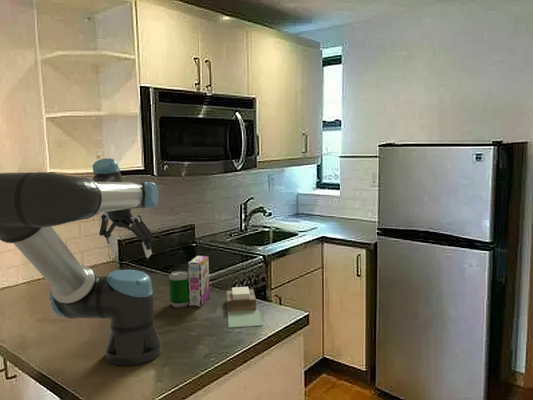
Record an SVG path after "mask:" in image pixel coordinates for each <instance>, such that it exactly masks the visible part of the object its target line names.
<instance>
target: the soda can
mask: <svg viewBox="0 0 533 400" xmlns="http://www.w3.org/2000/svg"><path fill="white" fill-rule="evenodd" d="M168 279H169V280H168V284H169V300H170V301H169V302H170V304H171V305H172V307H174V308H184V307H188V306H189V278H188V271H185V270H177V271H176V270H175V271H172V272H171V274H170V275H168Z"/></svg>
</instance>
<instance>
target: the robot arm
mask: <svg viewBox="0 0 533 400" xmlns="http://www.w3.org/2000/svg"><path fill="white" fill-rule="evenodd" d="M92 171H93V172H92V173H93V174H94V176H93V177H92V179H91V178H88V177H86V176H85V177H84V176H75V175H67V174H62V173H55V172H48V171H47V172H46V171H35V172H34V171H33V172H30V171H29V172H0V241H1V242H3V243H5V244H14V246H15V247H16V248H17V249H18V250H19V251H20V252H21V254H22V255H23V256H24V257H25V258H26V259H27V261H29V262H30V263H31V264H32V266H33V267H34V268H35V269H36V271H38V272H39V274H40V275H41V276H42V277H43V278H44V279H45V280H46V281H47V282H48V283H49V285H50V286H51V288H50V292H49V301H50V302H51V304H50V305H51V309H52V311H54V313H55V314H57V315H58V316H59V317H60V318H61V317H62V318H68V319H73V320H74V319H104V320H105V319H106V320H107V319H108V320H110V333H109V336H108V339H107V345H106V348H105V356H106V357H105V359H106V361H107V362H108V363H109V364H111V365H115V366H121V367H127V366H128V367H129V366H136V365H137V366H138V365H142V364H144V363H147V362H150V361H152V360H154V359H157V357H158V356H160V355H161V353H162V341H161V338H160V336H159V333H158V331H157V328H156V326H155V321H154V319H155V315H154V295H153V294H154V290H153V284H152V279H151V277H150V275H149V274H147V273H146V272H144V271H142V270H136V269H117V270H113V271H111V272H109V273H108V275H105V276H104V275H101V276H100V275H96V273H95V272H94V271H93V269H92V268H90V267H89V266H88V265H84V264H81V263H80V262H79V261H78V260H77V258H76V257H75V255H74V254H73V252H71V250H70V249H69V248H68V246H67V245H66V243H65V242H64V241H63V240H62V238H61V237H60V235H59V234H58V233H57V232H56V231H55V229H54V228H53V227H55V226H60V225H64V224H65V225H66V224H68V223H69V224H70V223H73V222H77V221H83V220H88V219H91V218H93V217H94V216H97V215H99V214H101V213H102V215H100V217H101V222H100V223H101V224H100V229H99V236H104V238H105V239H106V242H107V244H108V245H109V247H110V250H111V253H112V254H114V253H116V251H117V250H118V249H119V246H118V243H117V239H116V237H115V234H114V233H113V231H114V230H115V228H116V227H118V228H123V229H127V230H128V231H131V232H132V233H133V234H134V235H135V236H136V237H138V239H139V240H141V241H142V243H141V244H142V248H143V251H144V255H145V258H146V259H149V258H150V257H151V255H152V254H153V251H152V242H153V241H154V239H155V238H156V237H155V235H154V234H153V232H152V231H151V230H150V228H148V226H147V225H146V224H145V222H144V221H143V219H142V217H141V215H139V214H138V215H137V216H133V215H132V214H131V213H132V212H131V211H132V209H133V210H134V209H147V208H148V209H149V208H154V207H156V206H157V204H158V203H159V197H160V196H159V189H158V185H157V184H156V183H154V182H153V181H150V182H149V181H139V182H138V181H134V182H133V181H123V177H122V174H121V169H120V167H119V165H118V162H117V160H115V159H114V158H110V157H107V158H101V159H98V160H97V161H95V162H93V164H92ZM109 220H110V221H111V222H112V223H111V225H109ZM108 225H109V228H108Z"/></svg>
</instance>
